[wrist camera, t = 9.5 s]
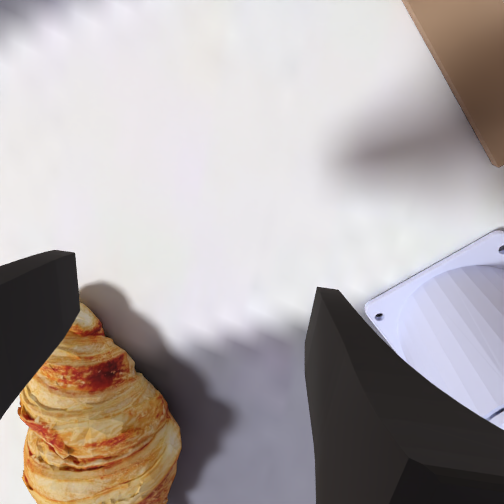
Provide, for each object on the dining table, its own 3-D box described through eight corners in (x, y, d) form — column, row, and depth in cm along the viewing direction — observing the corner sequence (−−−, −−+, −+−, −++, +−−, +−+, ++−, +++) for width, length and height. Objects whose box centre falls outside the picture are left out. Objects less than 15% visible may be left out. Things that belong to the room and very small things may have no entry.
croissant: (58, 263, 27) (-77, 325, 21) (162, 286, 21) (18, 380, 15) (134, 473, 35) (53, 561, 29) (222, 529, 30) (145, 651, 24)
